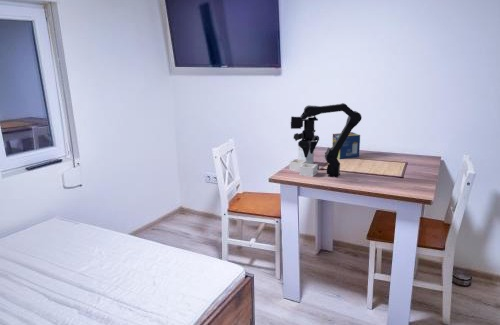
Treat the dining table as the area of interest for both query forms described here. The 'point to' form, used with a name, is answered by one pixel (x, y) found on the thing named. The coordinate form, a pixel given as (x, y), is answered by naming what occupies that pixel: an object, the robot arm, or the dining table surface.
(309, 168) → the pot
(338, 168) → the robot arm
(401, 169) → the dining table surface
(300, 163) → the pot
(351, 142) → the protein box
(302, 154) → the small box
